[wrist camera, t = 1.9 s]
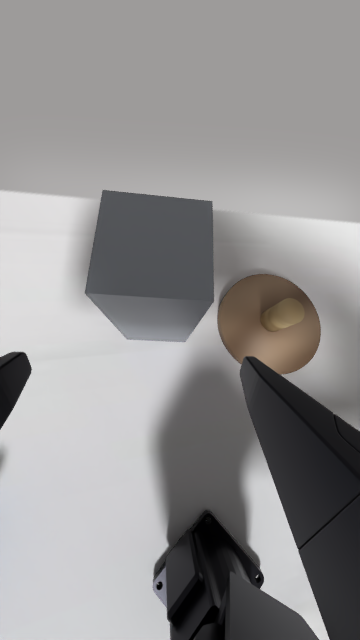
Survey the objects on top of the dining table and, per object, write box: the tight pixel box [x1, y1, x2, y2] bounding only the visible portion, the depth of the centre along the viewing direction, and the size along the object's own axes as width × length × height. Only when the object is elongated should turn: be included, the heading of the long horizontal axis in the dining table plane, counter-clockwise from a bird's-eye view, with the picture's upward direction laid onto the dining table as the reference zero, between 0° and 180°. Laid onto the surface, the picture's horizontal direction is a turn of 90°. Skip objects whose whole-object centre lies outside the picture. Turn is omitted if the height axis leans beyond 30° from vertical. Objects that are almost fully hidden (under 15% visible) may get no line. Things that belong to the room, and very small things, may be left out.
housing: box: [85, 190, 214, 342], centre depth 16 cm, size 6×6×12 cm
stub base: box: [218, 274, 321, 374], centre depth 20 cm, size 11×11×5 cm
